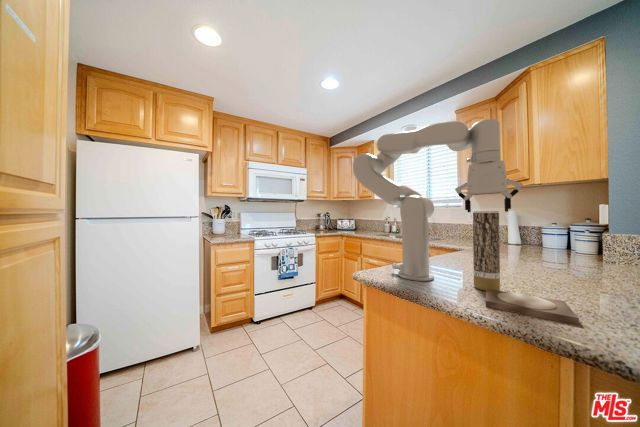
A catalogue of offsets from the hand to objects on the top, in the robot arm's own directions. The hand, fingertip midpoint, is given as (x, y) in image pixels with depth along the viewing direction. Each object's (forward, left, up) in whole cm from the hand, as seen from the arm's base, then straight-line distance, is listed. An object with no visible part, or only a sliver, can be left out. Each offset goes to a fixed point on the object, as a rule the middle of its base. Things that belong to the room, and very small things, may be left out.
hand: (487, 211), depth 71 cm
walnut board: (+8, -12, -25) cm, 29 cm away
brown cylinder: (0, 0, -25) cm, 25 cm away
